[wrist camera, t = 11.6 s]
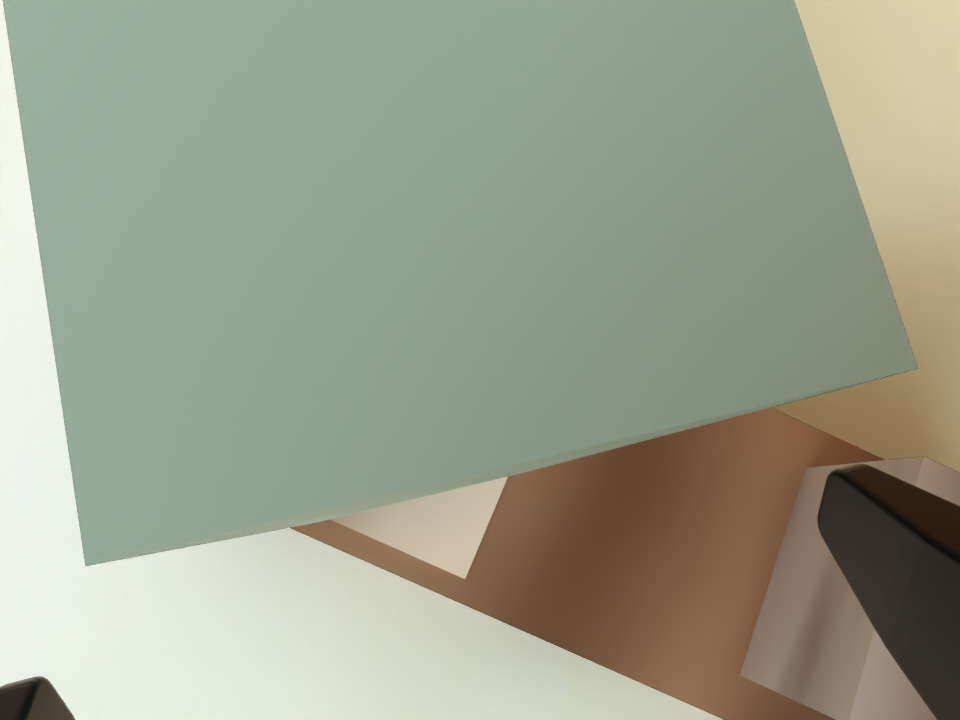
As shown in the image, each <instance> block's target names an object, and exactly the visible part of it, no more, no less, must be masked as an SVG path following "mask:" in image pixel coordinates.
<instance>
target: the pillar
mask: <svg viewBox="0 0 960 720" xmlns="http://www.w3.org/2000/svg"><path fill="white" fill-rule="evenodd" d="M3 5H4V12H5V19H6V26H7V33H8V39H9V46H10V53H11V60H12V67H13V74H14V81H15V87H16V94H17V101H18V108H19V115H20V122H21V128H22V135H23V142H24V149H25V156H26V163H27V169H28V176H29V183H30V190H31V197H32V204H33V211H34V217H35V224H36V231H37V238H38V245H39V252H40V258H41V265H42V272H43V279H44V286H45V293H46V299H47V306H48V313H49V320H50V327H51V334H52V341H53V347H54V354H55V361H56V368H57V375H58V382H59V388H60V395H61V402H62V409H63V416H64V423H65V429H66V436H67V443H68V450H69V457H70V464H71V471H72V477H73V484H74V491H75V498H76V505H77V512H78V518H79V525H80V532H81V539H82V546H83V553H84V559H85V566H89V565H95V564H100V563H105V562H111V561H116V560H121V559H126V558H132V557H137V556H142V555H147V554H153V553H158V552H163V551H169V550H174V549H179V548H184V547H190V546H195V545H200V544H206V543H211V542H216V541H221V540H227V539H232V538H237V537H242V536H248V535H253V534H258V533H264V532H269V531H274V530H279V529H285V528H290V527H295V526H301V525H306V524H311V523H316V522H321V521H325V520H329V519H333V518H337V517H342V516H346V515H350V514H354V513H358V512H362V511H367V510H371V509H375V508H379V507H383V506H387V505H392V504H396V503H400V502H404V501H408V500H413V499H417V498H421V497H425V496H429V495H433V494H438V493H442V492H446V491H450V490H454V489H458V488H463V487H467V486H471V485H475V484H479V483H483V482H488V481H492V480H496V479H500V478H504V477H508V476H513V475H517V474H521V473H524V472H528V471H532V470H536V469H540V468H543V467H547V466H551V465H555V464H559V463H562V462H566V461H570V460H574V459H578V458H581V457H585V456H589V455H593V454H596V453H600V452H604V451H608V450H612V449H615V448H619V447H623V446H627V445H631V444H634V443H638V442H642V441H646V440H650V439H653V438H657V437H661V436H665V435H669V434H672V433H676V432H680V431H684V430H687V429H691V428H695V427H699V426H703V425H706V424H710V423H714V422H718V421H722V420H725V419H729V418H733V417H737V416H741V415H744V414H748V413H752V412H756V411H759V410H763V409H767V408H771V407H775V406H778V405H782V404H786V403H790V402H794V401H797V400H801V399H805V398H809V397H813V396H816V395H820V394H824V393H828V392H831V391H835V390H839V389H843V388H847V387H850V386H854V385H858V384H862V383H866V382H869V381H873V380H877V379H881V378H885V377H888V376H892V375H896V374H900V373H904V372H907V371H911V370H915V369H918V367H917V364H916V361H915V358H914V355H913V352H912V349H911V346H910V343H909V340H908V337H907V334H906V331H905V328H904V325H903V322H902V319H901V317H900V314H899V311H898V308H897V305H896V302H895V299H894V296H893V293H892V290H891V287H890V284H889V281H888V278H887V275H886V272H885V269H884V266H883V263H882V260H881V257H880V254H879V251H878V248H877V245H876V242H875V239H874V236H873V233H872V230H871V228H870V225H869V222H868V219H867V216H866V213H865V210H864V207H863V204H862V201H861V198H860V195H859V192H858V189H857V186H856V183H855V180H854V177H853V174H852V171H851V168H850V165H849V162H848V159H847V156H846V153H845V150H844V147H843V144H842V141H841V139H840V136H839V133H838V130H837V127H836V124H835V121H834V118H833V115H832V112H831V109H830V106H829V103H828V100H827V97H826V94H825V91H824V88H823V85H822V82H821V79H820V76H819V73H818V70H817V67H816V64H815V61H814V58H813V55H812V53H811V50H810V47H809V44H808V41H807V38H806V35H805V32H804V29H803V26H802V23H801V20H800V17H799V14H798V11H797V8H796V5H795V2H794V0H3Z"/></svg>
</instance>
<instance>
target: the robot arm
mask: <svg viewBox="0 0 960 720" xmlns="http://www.w3.org/2000/svg"><path fill="white" fill-rule="evenodd" d="M817 522H818V528H819V531H820V534H821V536H822V538H823V540H824V542H825V543H826V545H827V547H828V549H829V550H830V552H831V554H832V556H833V557H834V559H835V561H836V563H837V564H838V566H839V568H840V570H841V571H842V573H843V575H844V577H845V578H846V580H847V582H848V584H849V585H850V587H851V589H852V591H853V592H854V594H855V596H856V598H857V599H858V601H859V603H860V605H861V606H862V608H863V610H864V612H865V613H866V615H867V617H868V619H869V620H870V622H871V624H872V626H873V627H874V629H875V631H876V632H877V634H878V635H879V637H880V639H881V640H882V642H883V644H884V645H885V647H886V648H887V650H888V651H889V653H890V654H891V656H892V657H893V659H894V660H895V662H896V663H897V665H898V666H899V667H900V669H901V670H902V672H903V673H904V674H905V676H906V677H907V679H908V680H909V681H910V683H911V684H912V686H913V687H914V688H915V690H916V691H917V693H918V694H919V696H920V697H921V698H922V700H923V701H924V703H925V704H926V705H927V707H928V708H929V710H930V711H931V712H932V714H933V715H934V717H935V718H936V719H937V720H960V506H959V505H957V504H955V503H952V502H950V501H948V500H946V499H943V498H941V497H939V496H937V495H935V494H932V493H930V492H928V491H926V490H923V489H921V488H919V487H917V486H915V485H912V484H910V483H908V482H906V481H903V480H901V479H899V478H897V477H895V476H892V475H890V474H888V473H886V472H883V471H881V470H879V469H877V468H875V467H872V466H870V465H867V464H854V465H850V466H846V467H842V468H838V469H835V470H833V471H831V472H830V473H829V475H828V476H827V479H826V482H825V487H824V491H823V495H822V499H821V503H820V507H819V511H818V516H817ZM0 720H75V718H74V716H73V715H72V713H71V712H70V710H69V709H68V707H67V706H66V704H65V703H64V702H63V700H62V699H61V697H60V696H59V694H58V693H57V691H56V690H55V688H54V687H53V685H52V684H51V683H50V682H49V680H48V679H46V678H44V677H41V676H39V677H32V678H29V679H25V680H21V681H17V682H13V683H9V684H6V685H4V686H2V687H0Z"/></svg>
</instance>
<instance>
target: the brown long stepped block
mask: <svg viewBox="0 0 960 720" xmlns="http://www.w3.org/2000/svg"><path fill="white" fill-rule="evenodd" d="M854 464H867V465H870V466H872V467H875V468H877V469H879V470H881V471H883V472H886V473H888V474H890V475H892V476H895V477H897V478H899V479H901V480H903V481H906V482H908V483H910V484H912V485H915V486H917V487H919V488H921V489H923V490H926V491H928V492H930V493H932V494H935V495H937V496H939V497H941V498H943V499H946V500H948V501H950V502H952V503H955V504H957V505H959V506H960V473H959V472H957V471H955V470H953V469H950V468H948V467H946V466H944V465H942V464H940V463H937V462H935V461H933V460H931V459H929V458H927V457H924V456H922V457H912V458H902V459H891V460H884V459H882V458H879V457H877V456H875V455H873V454H871V453H869V452H866V451H864V450H862V449H860V448H858V447H855V446H853V445H851V444H849V443H847V442H845V441H842V440H840V439H838V438H836V437H834V436H831V435H829V434H827V433H825V432H823V431H821V430H818V429H816V428H814V427H812V426H810V425H808V424H805V423H803V422H801V421H799V420H797V419H794V418H792V417H790V416H788V415H786V414H784V413H781V412H779V411H777V410H775V409H773V408H767V409H763V410H759V411H756V412H752V413H748V414H744V415H741V416H737V417H733V418H729V419H725V420H722V421H718V422H714V423H710V424H706V425H703V426H699V427H695V428H691V429H687V430H684V431H680V432H676V433H672V434H669V435H665V436H661V437H657V438H653V439H650V440H646V441H642V442H638V443H634V444H631V445H627V446H623V447H619V448H615V449H612V450H608V451H604V452H600V453H596V454H593V455H589V456H585V457H581V458H578V459H574V460H570V461H566V462H562V463H559V464H555V465H551V466H547V467H543V468H540V469H536V470H532V471H528V472H524V473H521V474H517V475H513V476H508V477H504V478H500V479H496V480H492V481H488V482H483V483H479V484H475V485H471V486H467V487H463V488H458V489H454V490H450V491H446V492H442V493H438V494H433V495H429V496H425V497H421V498H417V499H413V500H408V501H404V502H400V503H396V504H392V505H387V506H383V507H379V508H375V509H371V510H367V511H362V512H358V513H354V514H350V515H346V516H342V517H337V518H333V519H329V520H325V521H321V522H316V523H311V524H306V525H301V526H295V527H290V528H291V529H294V530H296V531H298V532H300V533H303V534H305V535H307V536H309V537H312V538H314V539H316V540H319V541H321V542H323V543H325V544H328V545H330V546H332V547H334V548H337V549H339V550H341V551H343V552H346V553H348V554H350V555H352V556H355V557H357V558H359V559H362V560H364V561H366V562H368V563H371V564H373V565H375V566H377V567H380V568H382V569H384V570H386V571H389V572H391V573H393V574H396V575H398V576H400V577H402V578H405V579H407V580H409V581H411V582H414V583H416V584H418V585H420V586H423V587H425V588H427V589H429V590H432V591H434V592H436V593H439V594H441V595H443V596H445V597H448V598H450V599H452V600H454V601H457V602H459V603H461V604H463V605H466V606H468V607H470V608H473V609H475V610H477V611H479V612H482V613H484V614H486V615H488V616H491V617H493V618H495V619H497V620H500V621H502V622H504V623H506V624H509V625H511V626H513V627H516V628H518V629H520V630H522V631H525V632H527V633H529V634H531V635H534V636H536V637H538V638H540V639H543V640H545V641H547V642H550V643H552V644H554V645H556V646H559V647H561V648H563V649H565V650H568V651H570V652H572V653H574V654H577V655H579V656H581V657H583V658H586V659H588V660H590V661H593V662H595V663H597V664H599V665H602V666H604V667H606V668H608V669H611V670H613V671H615V672H617V673H620V674H622V675H624V676H627V677H629V678H631V679H633V680H636V681H638V682H640V683H642V684H645V685H647V686H649V687H651V688H654V689H656V690H658V691H661V692H663V693H665V694H667V695H670V696H672V697H674V698H676V699H679V700H681V701H683V702H685V703H688V704H690V705H692V706H694V707H697V708H699V709H701V710H704V711H706V712H708V713H710V714H713V715H715V716H717V717H719V718H722V719H724V720H937V719H936V718H935V717H934V715H933V714H932V712H931V711H930V710H929V708H928V707H927V705H926V704H925V703H924V701H923V700H922V698H921V697H920V696H919V694H918V693H917V691H916V690H915V688H914V687H913V686H912V684H911V683H910V681H909V680H908V679H907V677H906V676H905V674H904V673H903V672H902V670H901V669H900V667H899V666H898V665H897V663H896V662H895V660H894V659H893V657H892V656H891V654H890V653H889V651H888V650H887V648H886V647H885V645H884V644H883V642H882V640H881V639H880V637H879V635H878V634H877V632H876V631H875V629H874V627H873V626H872V624H871V622H870V620H869V619H868V617H867V615H866V613H865V612H864V610H863V608H862V606H861V605H860V603H859V601H858V599H857V598H856V596H855V594H854V592H853V591H852V589H851V587H850V585H849V584H848V582H847V580H846V578H845V577H844V575H843V573H842V571H841V570H840V568H839V566H838V564H837V563H836V561H835V559H834V557H833V556H832V554H831V552H830V550H829V549H828V547H827V545H826V543H825V542H824V540H823V538H822V536H821V534H820V531H819V528H818V522H817V516H818V511H819V507H820V503H821V499H822V495H823V491H824V487H825V482H826V479H827V476H828V475H829V473H830V472H831V471H833V470H835V469H838V468H842V467H846V466H850V465H854Z"/></svg>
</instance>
